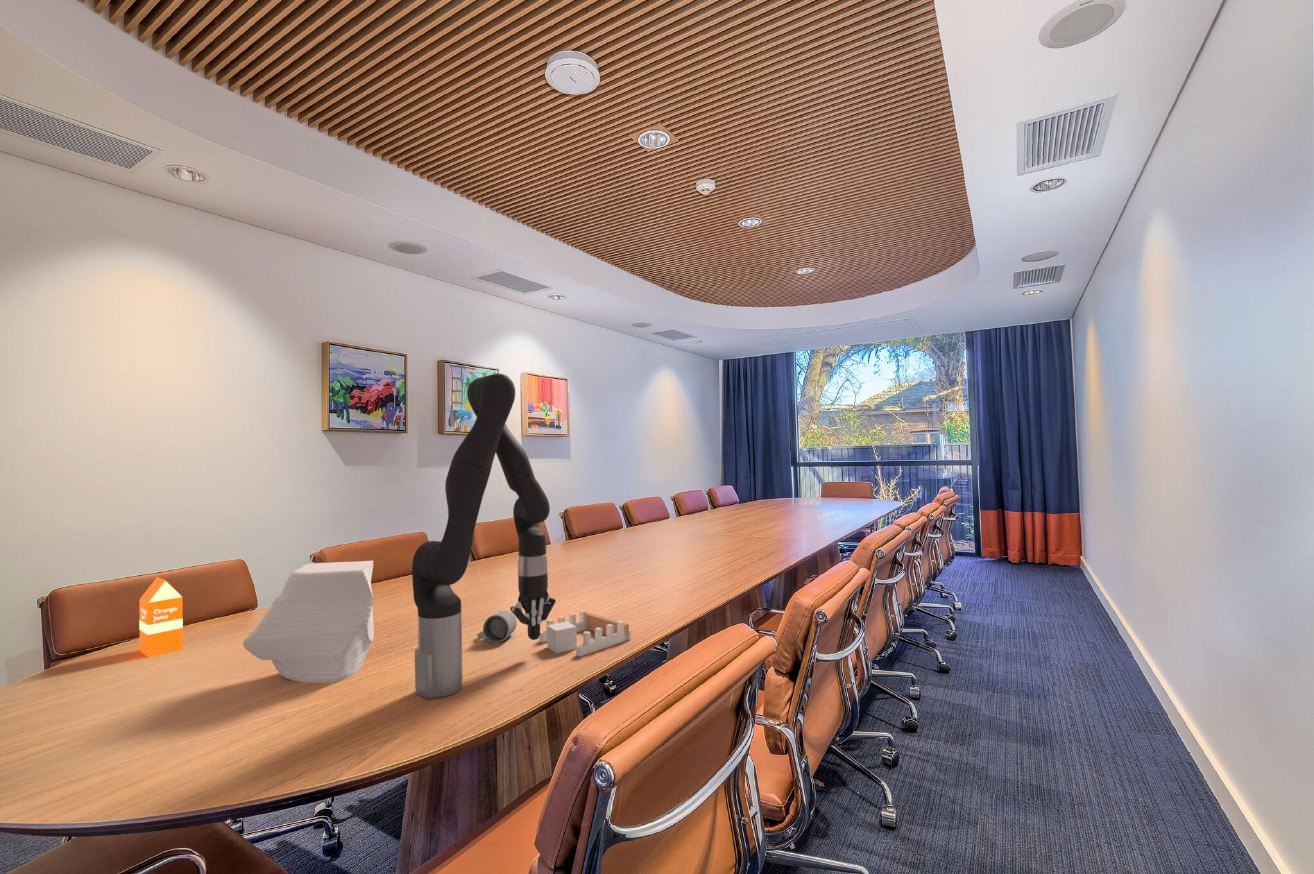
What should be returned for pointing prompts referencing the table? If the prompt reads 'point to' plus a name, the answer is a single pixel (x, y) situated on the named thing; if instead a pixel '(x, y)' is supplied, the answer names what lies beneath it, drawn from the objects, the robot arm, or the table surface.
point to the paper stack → (318, 623)
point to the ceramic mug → (498, 627)
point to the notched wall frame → (599, 625)
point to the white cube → (561, 637)
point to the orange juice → (160, 619)
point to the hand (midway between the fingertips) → (534, 638)
